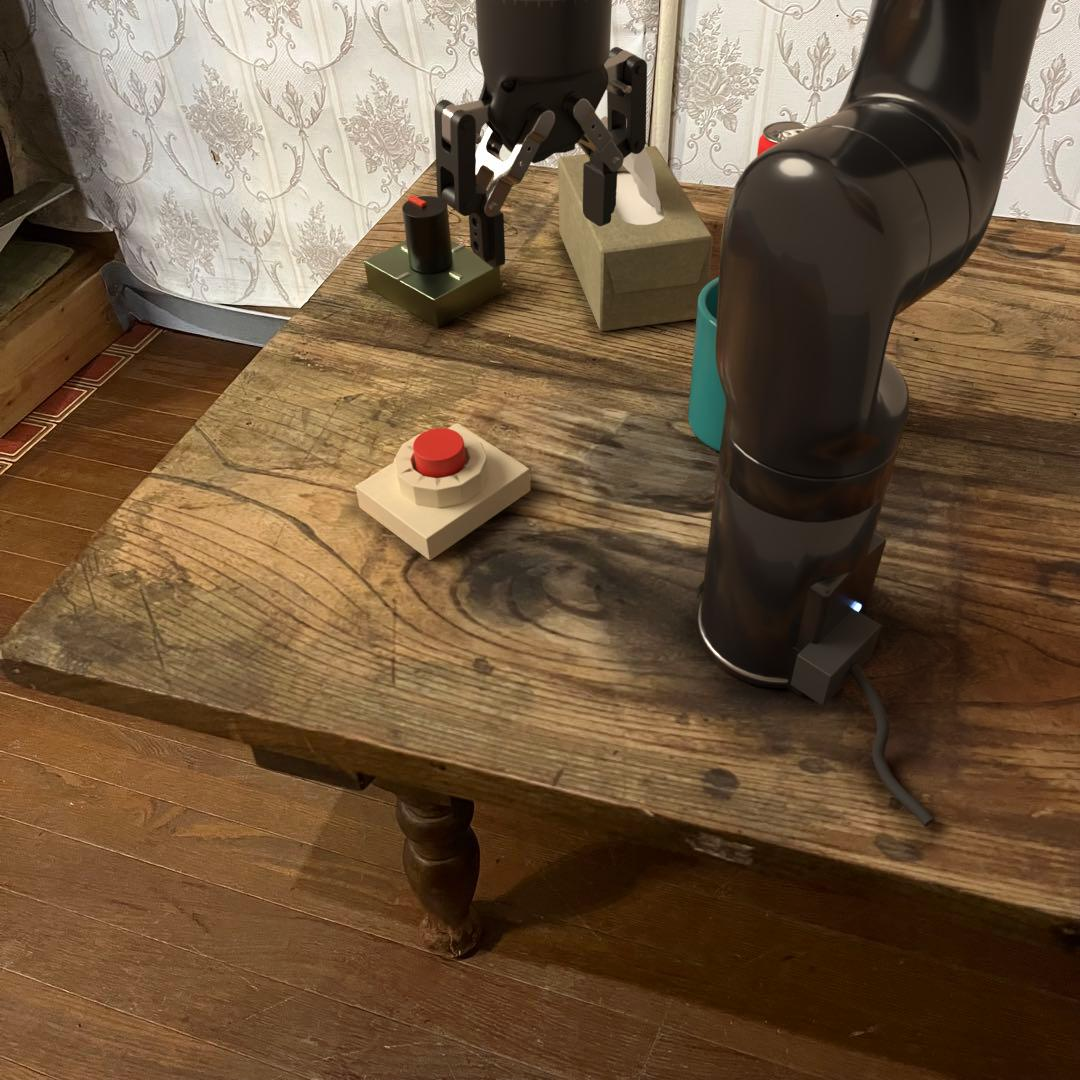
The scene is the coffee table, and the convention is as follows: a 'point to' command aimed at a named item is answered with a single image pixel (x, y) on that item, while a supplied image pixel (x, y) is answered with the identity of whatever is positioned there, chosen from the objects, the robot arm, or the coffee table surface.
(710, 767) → the coffee table surface
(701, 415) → the cup
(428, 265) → the dial
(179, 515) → the coffee table surface
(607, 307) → the tissue box
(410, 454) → the switch box
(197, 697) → the coffee table surface
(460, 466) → the power button
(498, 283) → the control panel
